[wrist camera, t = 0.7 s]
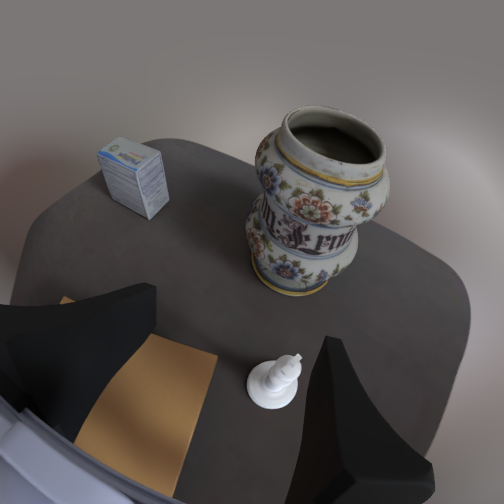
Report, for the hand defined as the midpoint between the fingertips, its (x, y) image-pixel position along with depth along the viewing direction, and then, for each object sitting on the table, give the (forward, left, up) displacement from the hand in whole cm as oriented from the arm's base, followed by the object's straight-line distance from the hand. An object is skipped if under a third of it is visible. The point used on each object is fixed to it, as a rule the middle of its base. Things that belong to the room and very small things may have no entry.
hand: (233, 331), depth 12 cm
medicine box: (+20, +19, -18) cm, 33 cm away
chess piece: (+2, -4, -18) cm, 18 cm away
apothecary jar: (+17, -3, -18) cm, 25 cm away
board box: (-6, +10, -18) cm, 21 cm away
